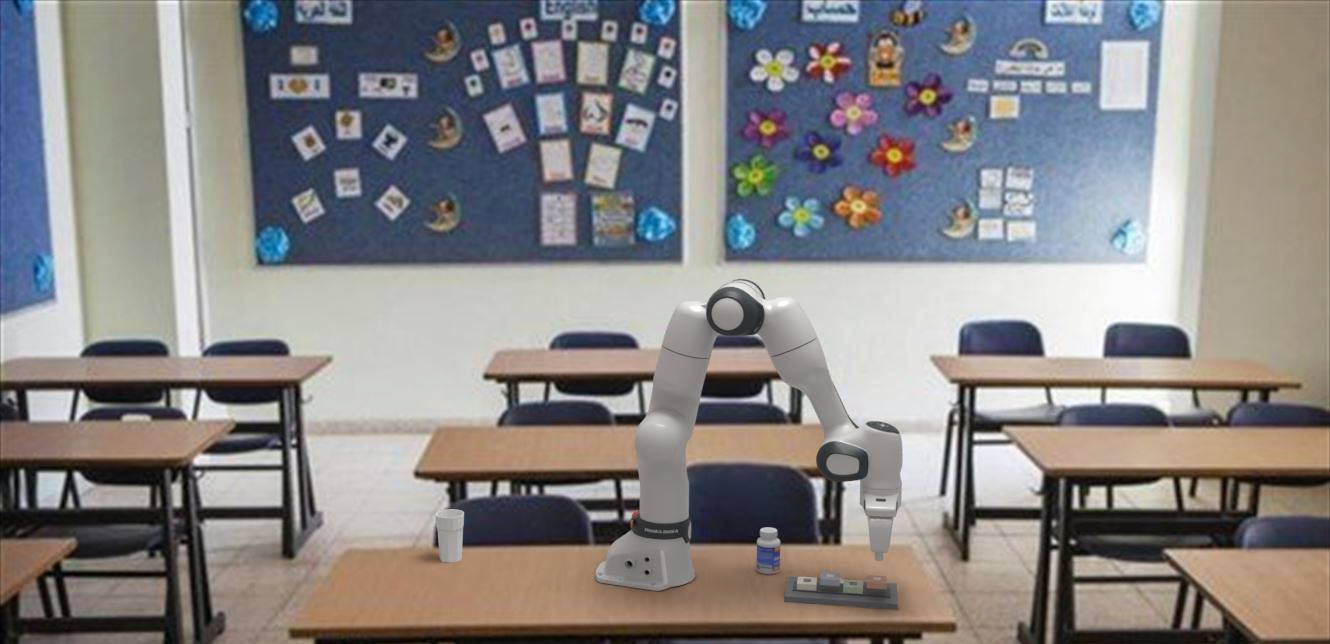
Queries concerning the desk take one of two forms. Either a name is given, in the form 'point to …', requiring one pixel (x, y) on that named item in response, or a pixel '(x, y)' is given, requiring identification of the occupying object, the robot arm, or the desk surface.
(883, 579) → the terracotta key
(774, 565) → the pill bottle
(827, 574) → the slate key
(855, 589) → the sage key
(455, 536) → the cup
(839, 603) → the keypad base
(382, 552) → the desk surface
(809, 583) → the cream key
